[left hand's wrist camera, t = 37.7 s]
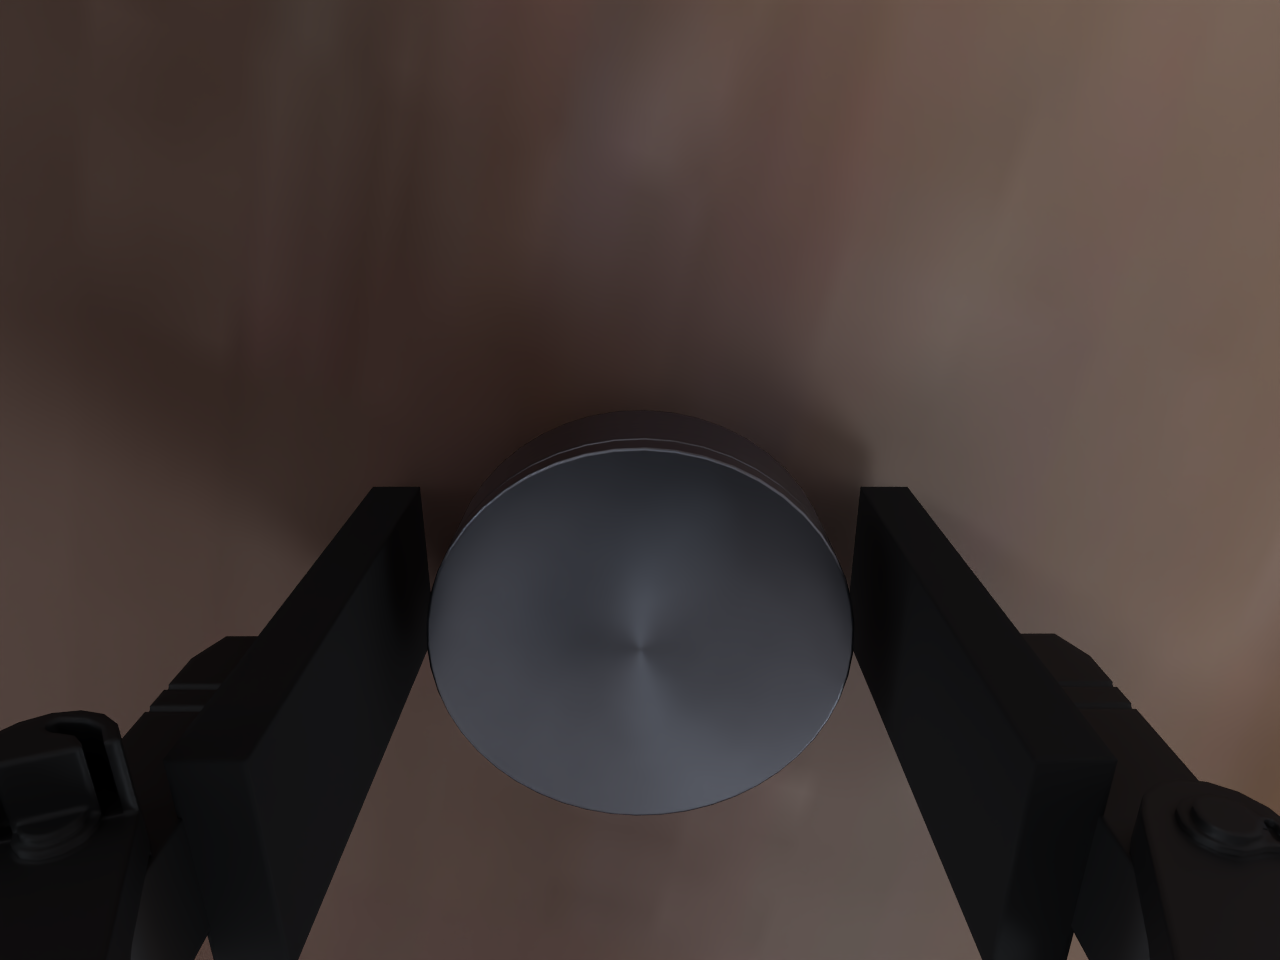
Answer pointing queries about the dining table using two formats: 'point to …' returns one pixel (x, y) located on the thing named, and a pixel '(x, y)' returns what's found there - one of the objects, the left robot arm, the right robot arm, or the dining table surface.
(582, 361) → the dining table surface
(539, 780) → the lid
